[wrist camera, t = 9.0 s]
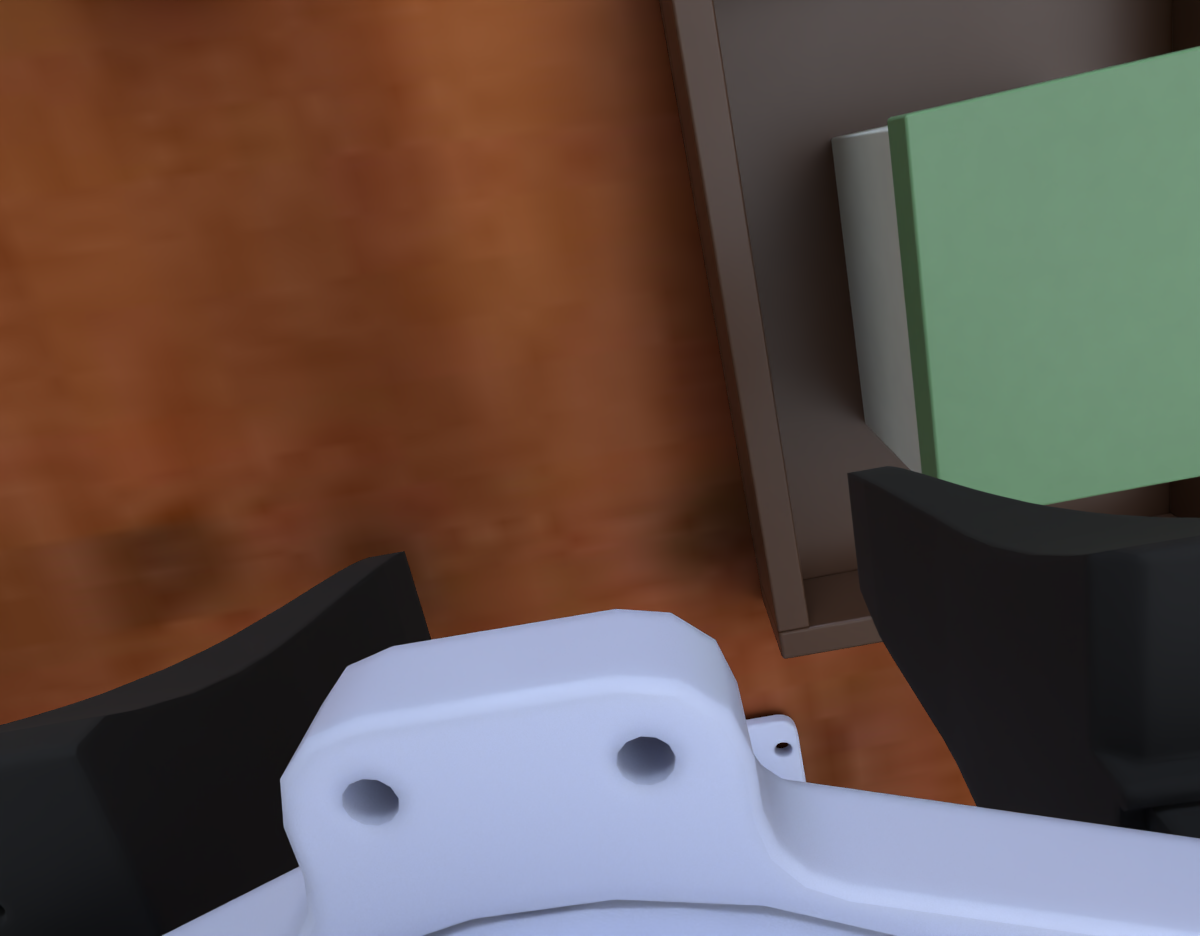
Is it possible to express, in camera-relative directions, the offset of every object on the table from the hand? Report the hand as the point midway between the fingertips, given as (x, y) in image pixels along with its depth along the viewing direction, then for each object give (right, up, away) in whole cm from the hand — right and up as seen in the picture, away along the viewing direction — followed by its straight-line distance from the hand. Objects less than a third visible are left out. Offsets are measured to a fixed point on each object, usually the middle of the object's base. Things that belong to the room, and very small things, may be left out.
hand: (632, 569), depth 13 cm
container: (+8, +6, +7) cm, 12 cm away
